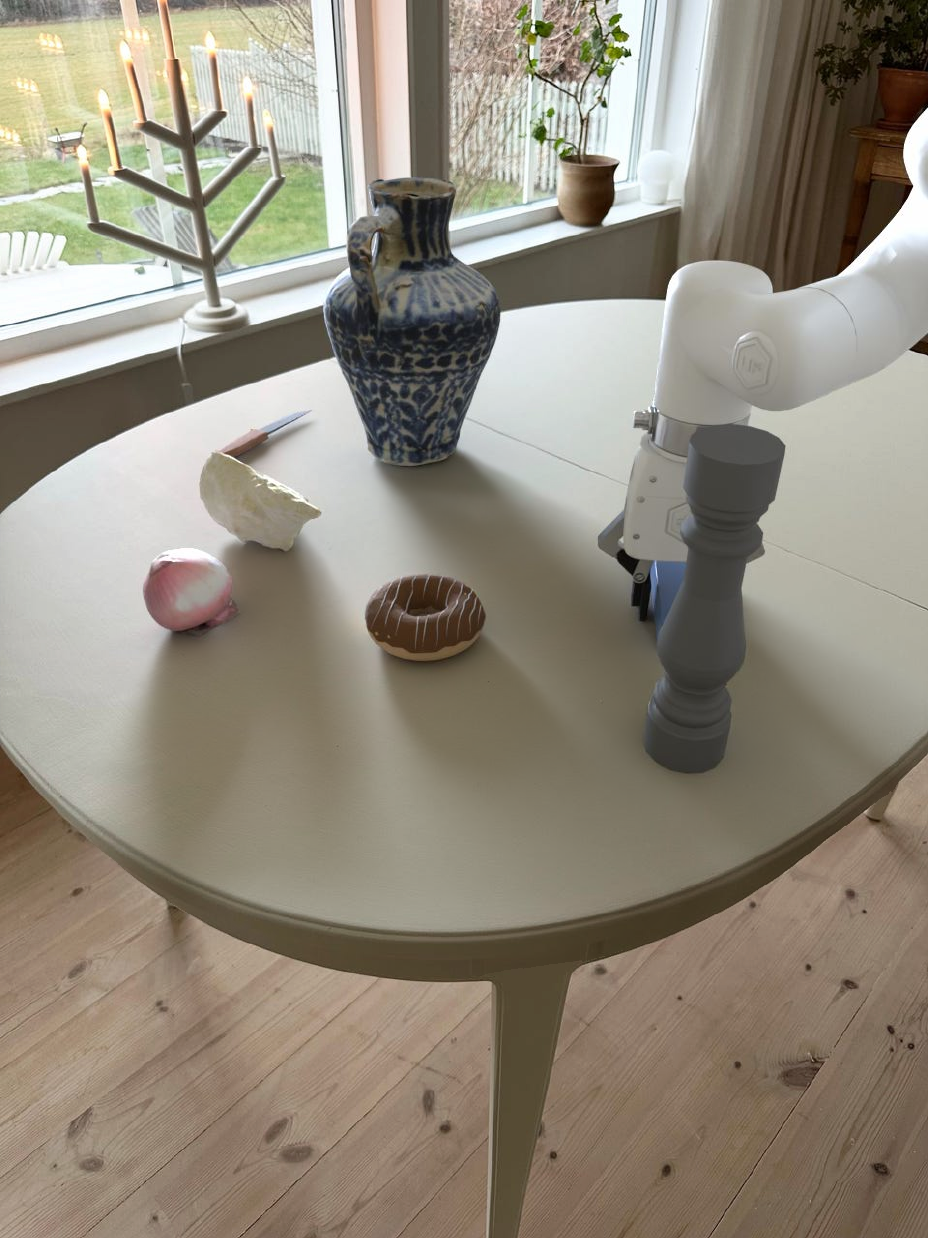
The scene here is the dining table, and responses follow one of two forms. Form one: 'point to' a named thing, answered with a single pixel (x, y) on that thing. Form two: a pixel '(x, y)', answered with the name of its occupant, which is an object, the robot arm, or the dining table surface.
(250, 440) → the knife
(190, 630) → the onion
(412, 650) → the donut
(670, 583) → the spoon
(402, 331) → the jug
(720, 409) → the robot arm
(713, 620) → the candle holder
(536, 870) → the dining table surface
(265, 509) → the cheese
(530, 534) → the dining table surface
